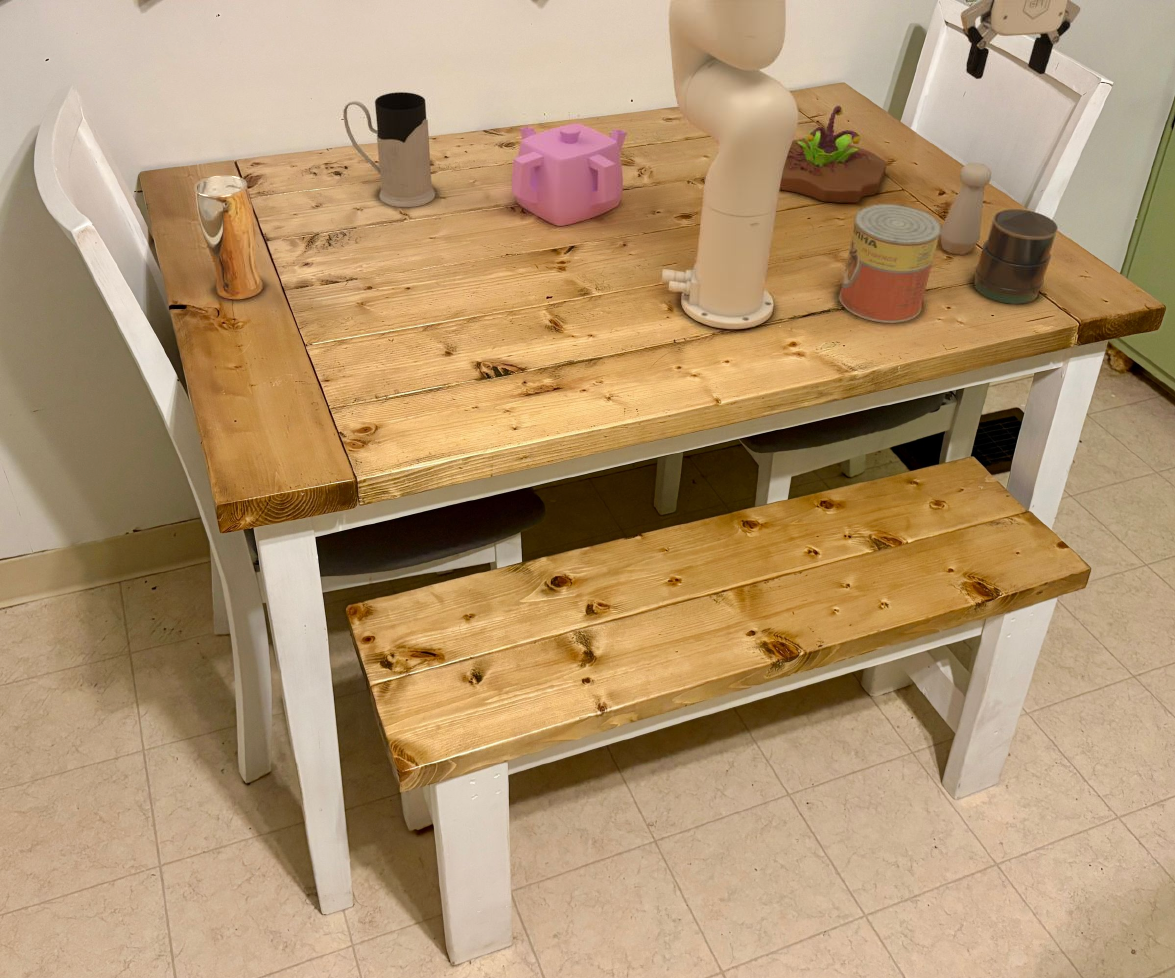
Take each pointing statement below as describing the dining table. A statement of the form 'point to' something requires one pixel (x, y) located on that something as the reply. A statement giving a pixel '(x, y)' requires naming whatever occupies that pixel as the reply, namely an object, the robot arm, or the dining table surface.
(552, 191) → the teakettle
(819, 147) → the plant
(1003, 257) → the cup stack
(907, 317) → the canned food
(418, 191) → the glass holder
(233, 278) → the beer glass
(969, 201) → the salt shaker
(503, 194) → the dining table surface
